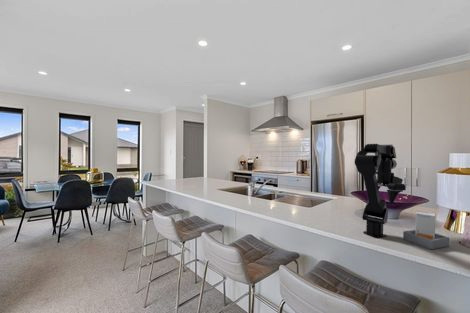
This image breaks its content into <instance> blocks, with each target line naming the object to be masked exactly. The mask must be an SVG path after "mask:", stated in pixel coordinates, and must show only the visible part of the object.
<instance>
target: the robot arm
mask: <svg viewBox="0 0 470 313" xmlns="http://www.w3.org/2000/svg"><path fill="white" fill-rule="evenodd" d="M356 153H357V154H356V156H355V158H354V165H355V167H356V170H357V172H358V173H359V174H360V175H362V177H363V183H364V187H365V191H366V195H367V196H366V197H367V203H366V205H365V207H364V208H363V213H362V220H363V221H366V223H365V224H366V226H365V227H366V229H365V231H363V234H365V235H368V236H371V237H372V238H377V239H378V238H383V237H387V234H386V233H384V225H385V224H387V223H388V220H389V218H388V217H389V209H388V207H387V204H386V202H387V201H386V200H385V199H382V198H381V194H380V190H379V189H380V188H382V187H386V188H387V190H386V193H387V197H388V201H389V205H394V202H395V200H396V198H397V196H398V195H399V194H400V193H402V192H404V191H406V188H407V186H406V185H405V184H404V183H403V181H404V179H403V178H400V177H398V176H395V173H394V172H392V170H393V169H395V168H397V164H398V163H397V161H396V160H395V159H397V154H396V147H395V146H394V144H378V143H367V144H365V145H364V147H363V148H362V149H361V150H359V151H358V152H356ZM371 154H372V155H371ZM373 154H374V155H373Z"/></svg>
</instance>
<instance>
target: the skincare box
mask: <svg viewBox="0 0 470 313" xmlns="http://www.w3.org/2000/svg"><path fill="white" fill-rule="evenodd" d="M436 216H437V215H436V213H432V212H425V211H418V210H417V211H416V212H415V229H414V230H415V235H418V236H421V237H424V238H427V239H430V240H433V239H435V234H436V219H437V218H436Z"/></svg>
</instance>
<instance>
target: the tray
mask: <svg viewBox="0 0 470 313" xmlns="http://www.w3.org/2000/svg"><path fill="white" fill-rule="evenodd" d="M402 234H403V236H402V238H403V241H406V242H410V243H412V244H415V245H418V246H420V247H423V248H425V249H429V250H431V251H432V250H437V249H443V248H446V247H450V237H448V236H445V235H442V234H439V233H435V239H433V240H430V239H427V238H424V237H421V236H418V235H415V229H411V230H410V229H409V230H403V232H402Z"/></svg>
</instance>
